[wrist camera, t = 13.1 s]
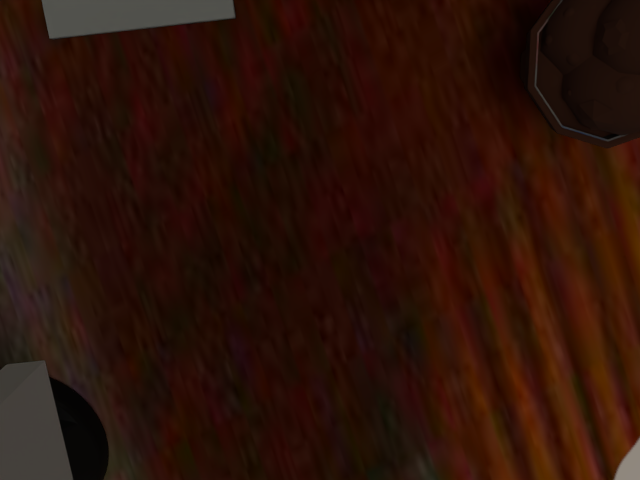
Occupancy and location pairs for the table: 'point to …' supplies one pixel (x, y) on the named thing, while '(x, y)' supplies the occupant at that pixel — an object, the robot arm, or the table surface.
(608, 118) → the ice cream bowl
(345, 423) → the table surface
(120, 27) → the mat
